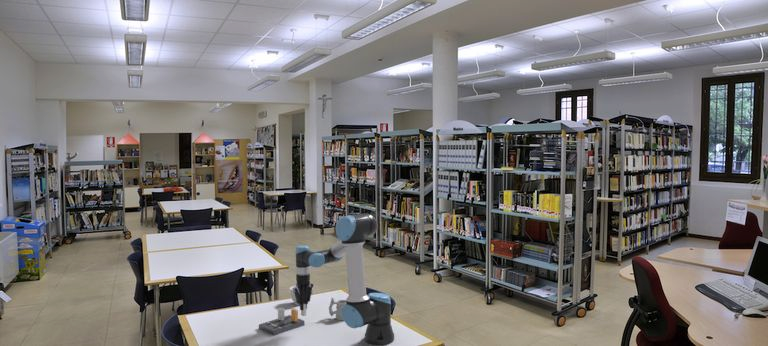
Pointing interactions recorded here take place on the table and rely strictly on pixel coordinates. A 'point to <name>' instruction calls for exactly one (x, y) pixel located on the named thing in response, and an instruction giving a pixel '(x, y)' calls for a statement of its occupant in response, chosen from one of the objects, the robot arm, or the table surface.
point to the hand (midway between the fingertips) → (303, 315)
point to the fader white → (281, 314)
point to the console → (280, 325)
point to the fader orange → (294, 315)
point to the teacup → (294, 294)
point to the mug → (339, 308)
